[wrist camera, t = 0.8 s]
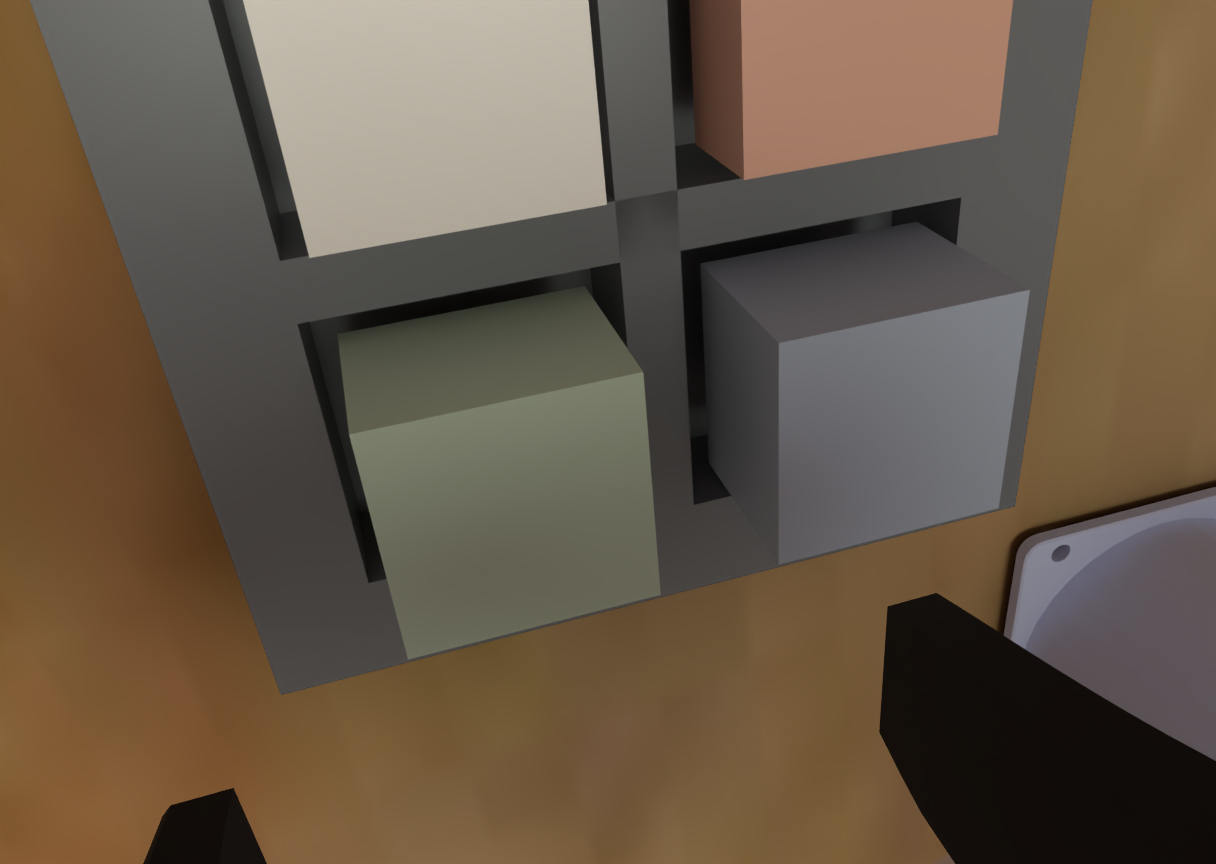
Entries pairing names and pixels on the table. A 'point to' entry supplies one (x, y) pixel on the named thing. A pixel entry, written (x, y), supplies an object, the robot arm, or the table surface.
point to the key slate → (859, 385)
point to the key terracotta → (843, 78)
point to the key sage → (502, 466)
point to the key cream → (429, 113)
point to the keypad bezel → (489, 279)
